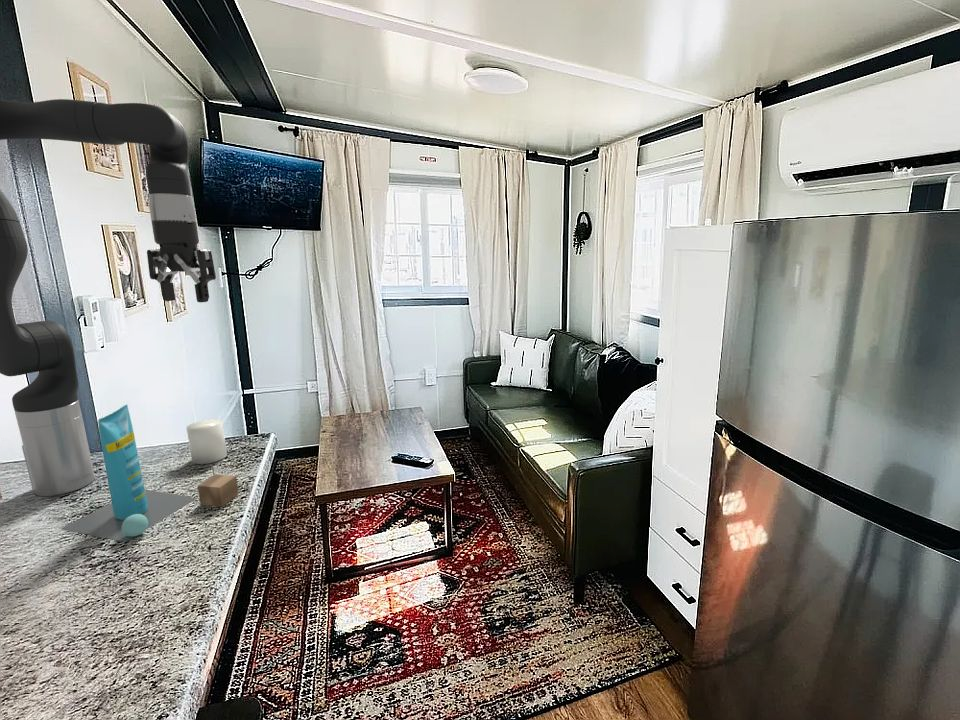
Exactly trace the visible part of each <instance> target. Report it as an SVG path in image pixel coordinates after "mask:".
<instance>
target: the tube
mask: <svg viewBox="0 0 960 720" xmlns="http://www.w3.org/2000/svg"><path fill="white" fill-rule="evenodd" d="M97 423H98V431H99V432H98V433H99V439H100V443H101V444H100V445H101V450H102V455H103V456H102V457H103V461H104V467H105V468H104V469H105V472H106V477H107V484H108V489H109V494H110V500H111V503H112V506H113V512H114V517H115V518H116V519H120V520H124V519H126V518H127V517H129V516H131V515H134V514H143V513H145V512H146V511H147V509H148V504H147V498H146V494H145V483H144V481H143V475H142V469H141V464H140V459H139V458H140V457H139V453H138V449H137V443H136V439H135V433H134V428H133V423H132V419H131V415H130V412H129V406H128V404H127V403H126V404H125V405H122V406H120V408H118V409H116V410H115V411H113V412H111V413H109V414H107V415H105V416H103V417H101V418H98V421H97Z"/></svg>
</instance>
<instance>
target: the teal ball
mask: <svg viewBox="0 0 960 720" xmlns="http://www.w3.org/2000/svg"><path fill="white" fill-rule="evenodd" d="M147 527H148V520H147V518H146V517H145V516H144V515H141V514H134V515H131V516H129V517H127V518H126V519H125V520H124V522H123V524H122V531H123V533H124V534H125V535H127V536H131V537H133V538H135V537H137V536H140V535H142V534H143V533H145V532H146V530H148V529H147Z"/></svg>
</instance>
